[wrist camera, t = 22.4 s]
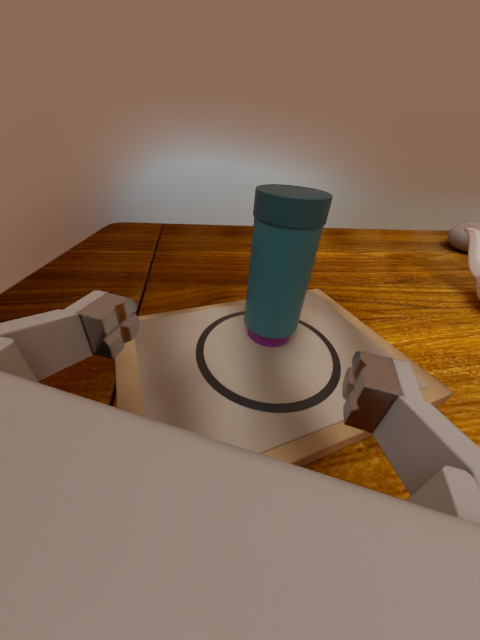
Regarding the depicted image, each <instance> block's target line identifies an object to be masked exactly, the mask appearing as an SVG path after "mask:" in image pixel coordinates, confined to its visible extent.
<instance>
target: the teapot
mask: <svg viewBox="0 0 480 640" xmlns="http://www.w3.org/2000/svg"><path fill="white" fill-rule="evenodd" d="M464 230H465V231H466V233H467V235H468V240H469V247H468V267H469V271H470V273H471V275H472V276H473V277H474V278H475V279H476V280H477V282H476V293H477V296H478V298H479V300H480V232H479V229H473V228H467V229H464Z"/></svg>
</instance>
